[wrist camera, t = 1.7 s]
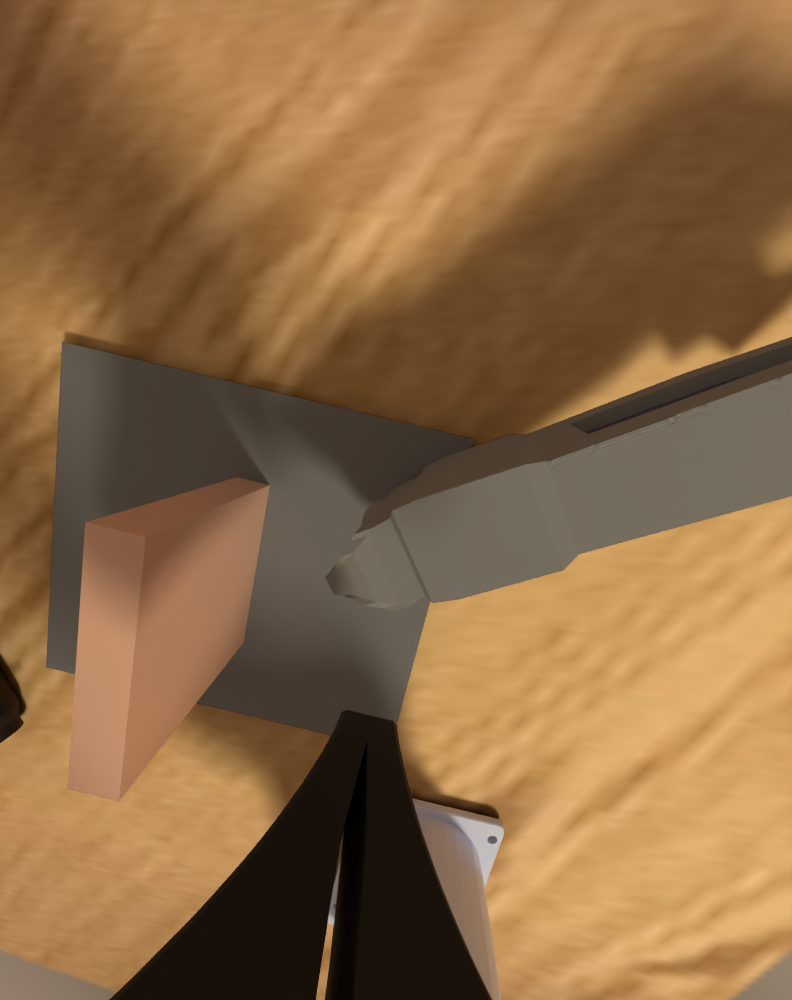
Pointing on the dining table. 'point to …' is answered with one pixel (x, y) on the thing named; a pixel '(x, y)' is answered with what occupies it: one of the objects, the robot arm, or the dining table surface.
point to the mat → (286, 529)
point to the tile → (157, 623)
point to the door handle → (8, 710)
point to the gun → (579, 485)
